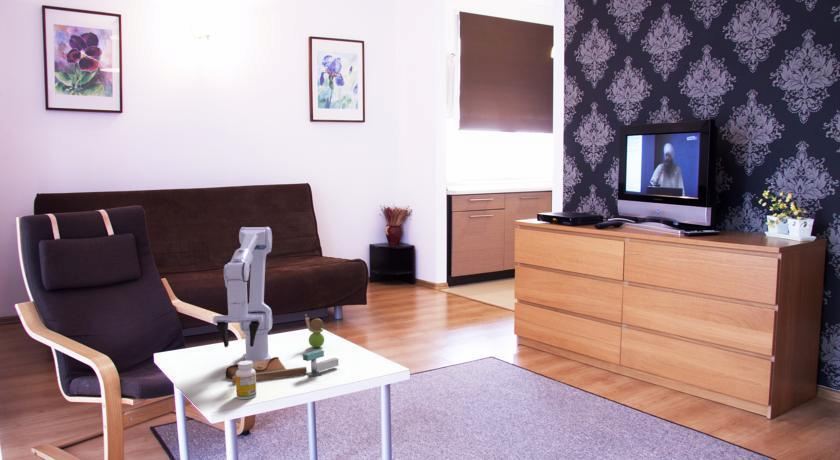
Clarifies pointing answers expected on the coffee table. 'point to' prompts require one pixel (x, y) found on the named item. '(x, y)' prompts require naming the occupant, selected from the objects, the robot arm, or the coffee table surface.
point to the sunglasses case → (258, 367)
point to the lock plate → (313, 374)
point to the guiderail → (278, 374)
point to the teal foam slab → (321, 365)
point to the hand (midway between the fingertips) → (239, 346)
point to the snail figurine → (315, 332)
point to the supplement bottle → (245, 380)
